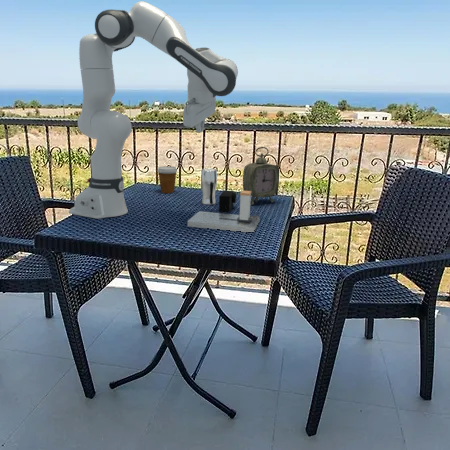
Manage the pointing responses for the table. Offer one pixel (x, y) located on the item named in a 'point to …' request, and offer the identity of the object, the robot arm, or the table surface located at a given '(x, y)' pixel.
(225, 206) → the digital camera
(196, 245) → the table surface
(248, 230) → the plate
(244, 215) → the fader tab
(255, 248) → the table surface
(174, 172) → the disposable coffee cup
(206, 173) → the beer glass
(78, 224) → the table surface
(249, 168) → the tabletop clock
